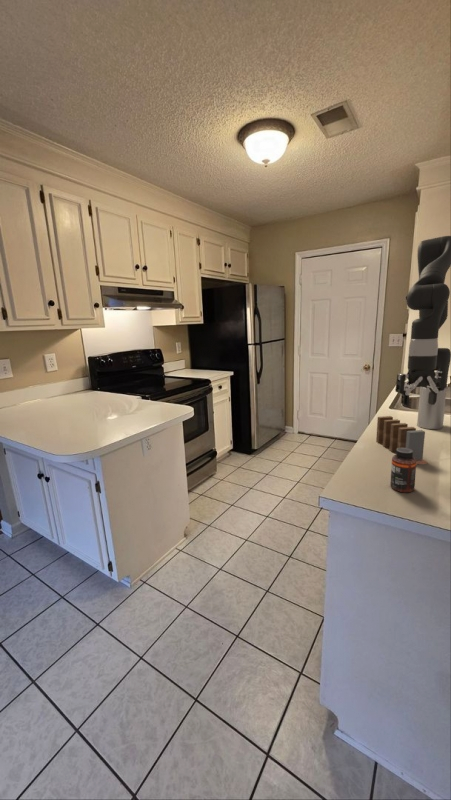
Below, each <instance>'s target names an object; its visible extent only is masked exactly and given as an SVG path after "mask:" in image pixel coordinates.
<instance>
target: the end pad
mask: <svg viewBox="0 0 451 800" xmlns="http://www.w3.org/2000/svg"><path fill="white" fill-rule="evenodd" d="M427 464H428V462H427V461H426V460H424V459H422V461H416V465H427Z"/></svg>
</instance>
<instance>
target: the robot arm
mask: <svg viewBox="0 0 451 800" xmlns="http://www.w3.org/2000/svg"><path fill="white" fill-rule="evenodd" d="M416 255H417V256H416V257H417V270H418V280H417V281H416V282H415V283H414V284H413V285H412V286H411V287H410V289H409V290H408V293H407V295H406V305H407V308H409V309H410V310H413V311H418V312H419V313H418V316H419V318H416V319H414V320H412V323H411V328H410V329H411V331H410V341H409V346H408V356H407V357H408V358H407V373H397V375H396V382H395V389H394V390H395V391H394V392H396V393H398V394H401V398H400V399H401V401H400V403H401V405H402V406H403V407H406V408H407V407H409V403H410V393H411V392H412V391H414V389H416V388H420V390H419V401H418V410H417V411H418V412H417V423H416V424H417V425H416V426H417V427H419V428H423V429H427V430H440V429H443V426H444V420H445V410H446V397H447V387H448V379H449V378H448V377H449V371H450V365H451V349H450V348H447V347H439V343H438V342H439V341H438V340H439V339H438V338H439V331H440V329H441V327H442V326H443V325H444V324H445V322H446V321H447V319H448V315H449V314H448V312H449V311H448V310H449V309H448V308H449V300H450V299H449V298H450V295H451V294H450V293H451V291H450V288H449V286H448V285H447V284H445V280H446V275H447V273H448V271H449V269H450V267H451V235H444V236H439V237H433V238H430V239H429V238H428V239H424V240H422V241H420V242H419V243H418V247H417V254H416Z"/></svg>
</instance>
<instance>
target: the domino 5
mask: <svg viewBox="0 0 451 800" xmlns="http://www.w3.org/2000/svg"><path fill="white" fill-rule="evenodd" d="M425 435H426V431H425V430H422V429H419V430H417V429H416V431H407V436H406V448H409V449H411V450H412V451H413V457H414V458H415V459H416V461H422V459H423V458H424V457H423V456H424V447H425V437H426V436H425ZM423 460H424V459H423Z"/></svg>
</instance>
